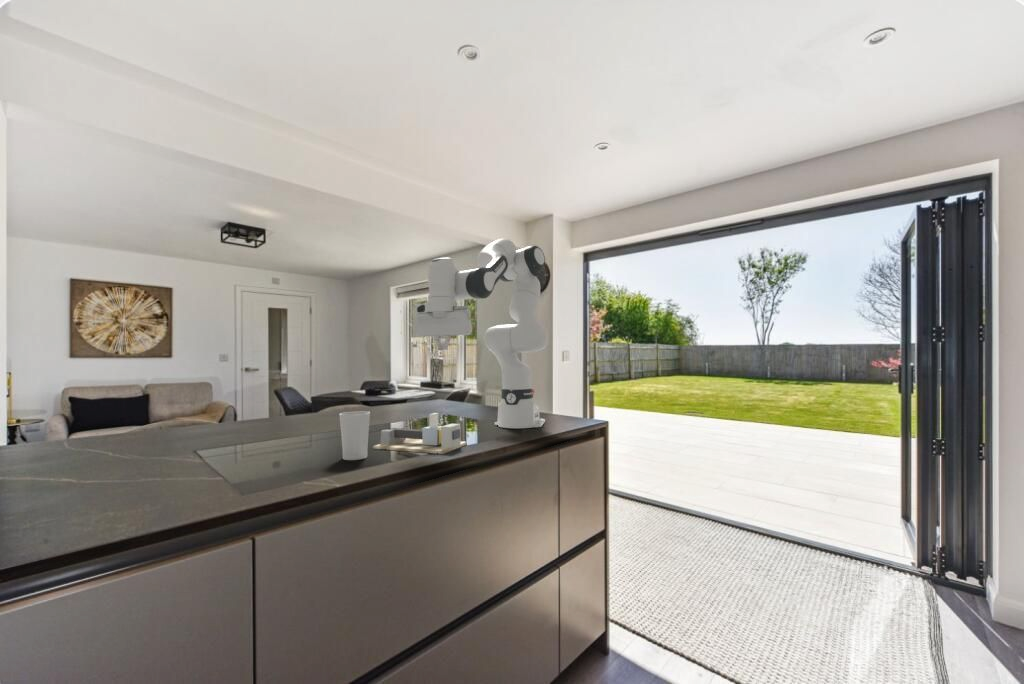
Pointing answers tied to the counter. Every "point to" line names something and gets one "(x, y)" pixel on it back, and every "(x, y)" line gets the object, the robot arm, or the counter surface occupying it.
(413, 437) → the dark grey bar
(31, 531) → the counter surface
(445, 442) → the connector
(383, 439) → the light grey block
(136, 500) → the counter surface
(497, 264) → the robot arm
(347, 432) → the cup
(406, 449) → the board
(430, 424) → the sleeve
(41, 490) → the counter surface
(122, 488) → the counter surface
